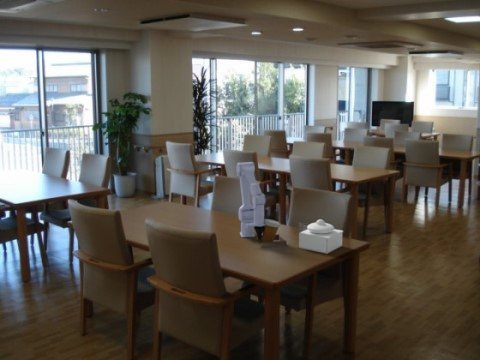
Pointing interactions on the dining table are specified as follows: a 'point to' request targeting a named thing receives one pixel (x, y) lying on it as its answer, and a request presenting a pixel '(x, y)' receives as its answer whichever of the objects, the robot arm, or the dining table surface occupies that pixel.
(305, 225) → the architectural model on board
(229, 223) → the dining table surface
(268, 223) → the disposable coffee cup
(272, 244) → the cup holder
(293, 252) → the dining table surface
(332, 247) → the butter dish
